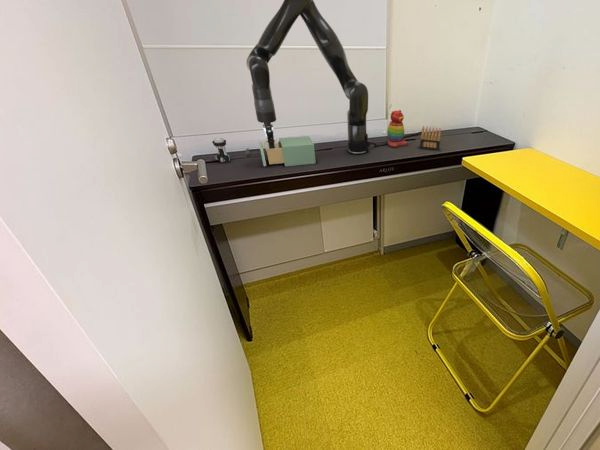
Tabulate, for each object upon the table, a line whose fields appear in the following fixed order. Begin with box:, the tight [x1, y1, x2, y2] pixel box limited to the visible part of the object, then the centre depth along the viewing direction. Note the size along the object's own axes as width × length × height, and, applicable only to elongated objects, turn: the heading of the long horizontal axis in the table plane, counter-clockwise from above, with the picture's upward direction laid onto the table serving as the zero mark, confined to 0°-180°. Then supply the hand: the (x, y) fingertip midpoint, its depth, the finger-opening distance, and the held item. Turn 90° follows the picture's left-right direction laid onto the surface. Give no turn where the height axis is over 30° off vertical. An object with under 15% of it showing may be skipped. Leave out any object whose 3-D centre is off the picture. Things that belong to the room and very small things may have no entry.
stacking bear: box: [386, 109, 408, 148], centre depth 168 cm, size 11×10×18 cm
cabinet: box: [278, 135, 317, 168], centre depth 143 cm, size 14×12×9 cm
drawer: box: [245, 140, 284, 167], centre depth 139 cm, size 18×11×7 cm, turn 114°
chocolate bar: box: [263, 139, 279, 152], centre depth 138 cm, size 6×4×3 cm
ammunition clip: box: [419, 125, 442, 151], centre depth 166 cm, size 11×2×12 cm, turn 83°
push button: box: [212, 137, 231, 163], centre depth 138 cm, size 7×5×10 cm
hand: (272, 148), depth 138 cm, fingers closed on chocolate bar, 4 cm apart
